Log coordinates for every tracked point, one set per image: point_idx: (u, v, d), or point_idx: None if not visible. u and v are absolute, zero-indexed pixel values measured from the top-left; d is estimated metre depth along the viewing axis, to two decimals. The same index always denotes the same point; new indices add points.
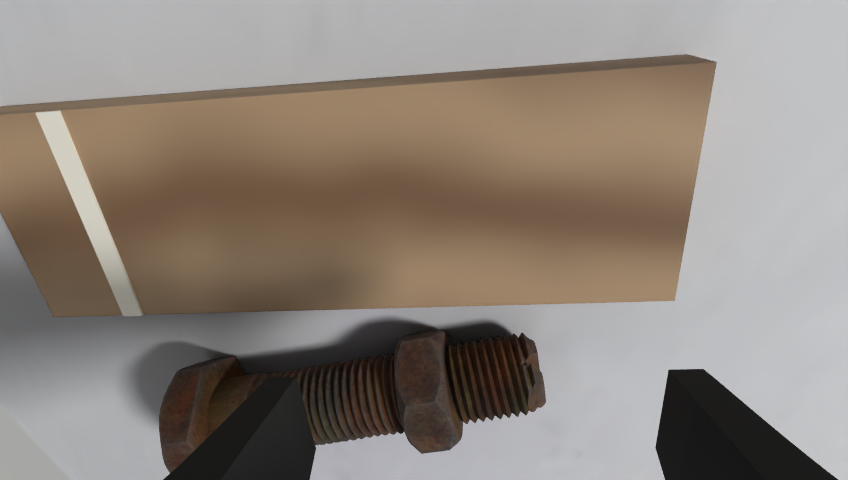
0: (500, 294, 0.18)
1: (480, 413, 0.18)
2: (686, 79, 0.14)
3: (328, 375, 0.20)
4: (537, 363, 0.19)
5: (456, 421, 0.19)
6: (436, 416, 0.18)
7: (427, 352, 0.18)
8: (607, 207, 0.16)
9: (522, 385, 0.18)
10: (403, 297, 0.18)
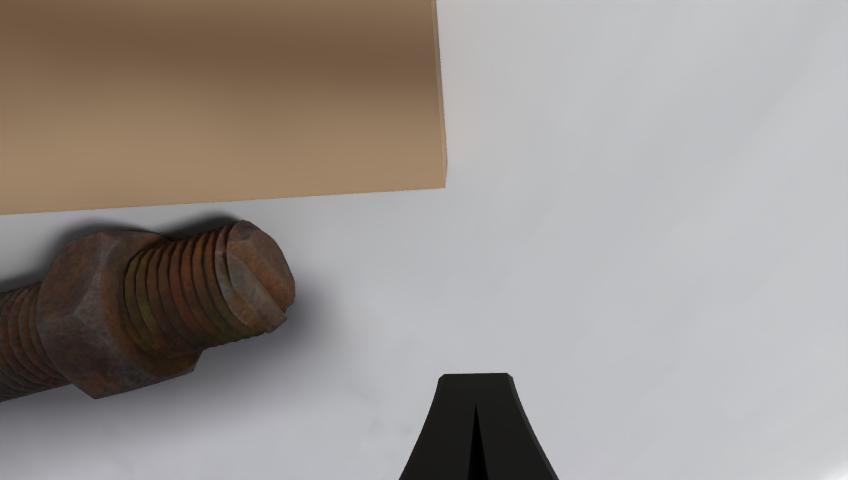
0: (201, 185, 0.12)
1: (172, 335, 0.13)
2: None
3: None
4: (262, 260, 0.13)
5: (145, 350, 0.13)
6: (85, 337, 0.12)
7: (91, 251, 0.13)
8: (311, 32, 0.10)
9: (217, 286, 0.12)
10: (70, 193, 0.12)
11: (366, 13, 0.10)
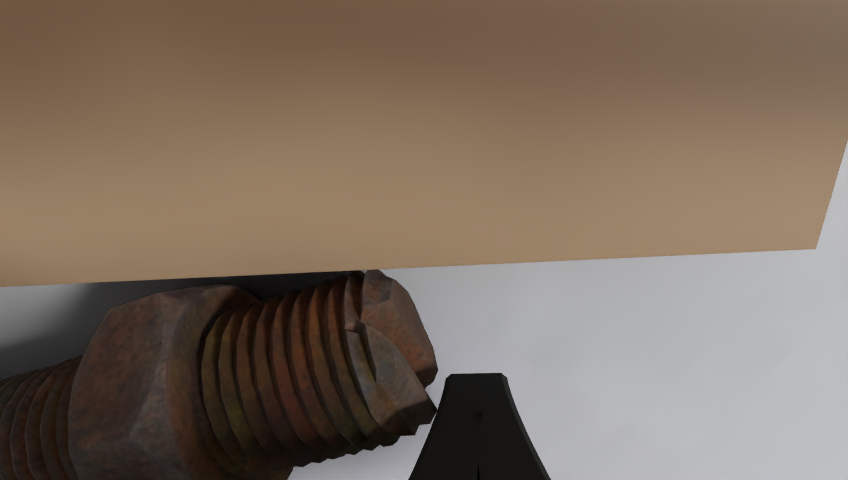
0: (421, 242, 0.08)
1: (276, 452, 0.08)
2: None
3: None
4: (404, 327, 0.09)
5: (233, 473, 0.08)
6: (147, 471, 0.07)
7: (147, 325, 0.08)
8: (669, 0, 0.06)
9: (352, 379, 0.08)
10: (216, 253, 0.08)
11: None
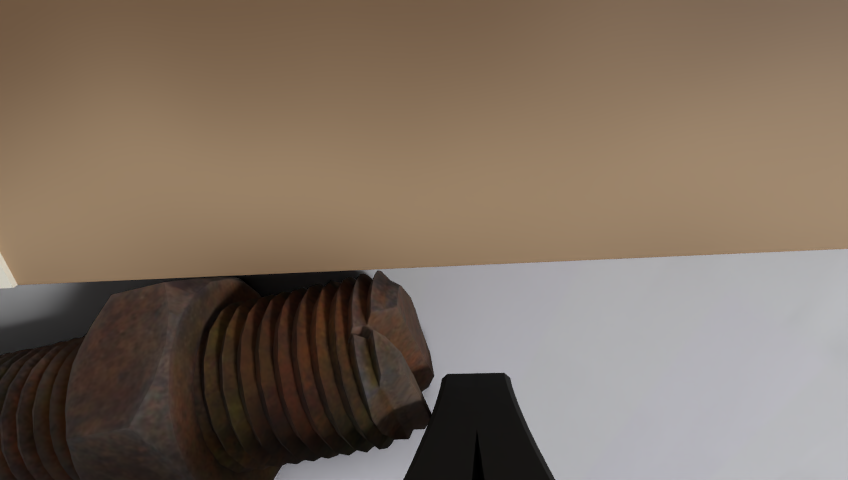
0: None
1: (273, 448, 0.08)
2: None
3: None
4: (407, 333, 0.09)
5: (228, 466, 0.08)
6: (144, 461, 0.07)
7: (151, 314, 0.08)
8: None
9: (355, 382, 0.08)
10: (604, 233, 0.08)
11: None
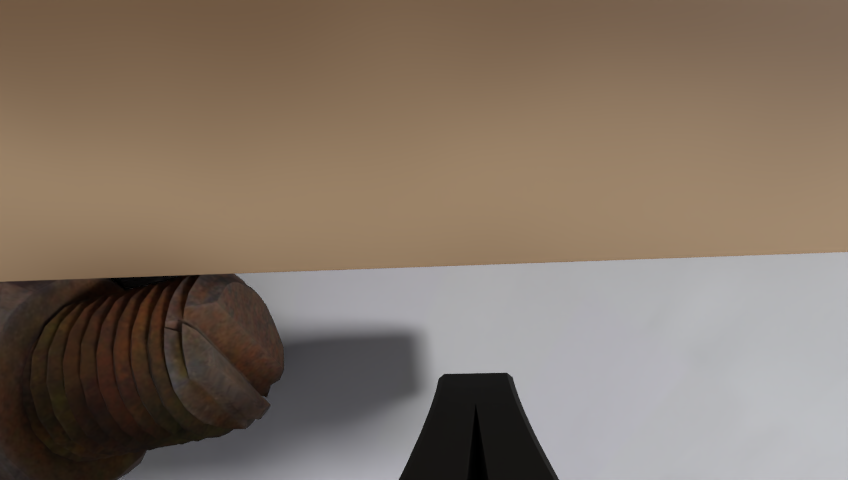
0: (649, 232, 0.08)
1: (100, 437, 0.09)
2: None
3: None
4: (237, 328, 0.09)
5: (63, 455, 0.09)
6: None
7: None
8: None
9: (167, 373, 0.08)
10: (423, 242, 0.08)
11: None
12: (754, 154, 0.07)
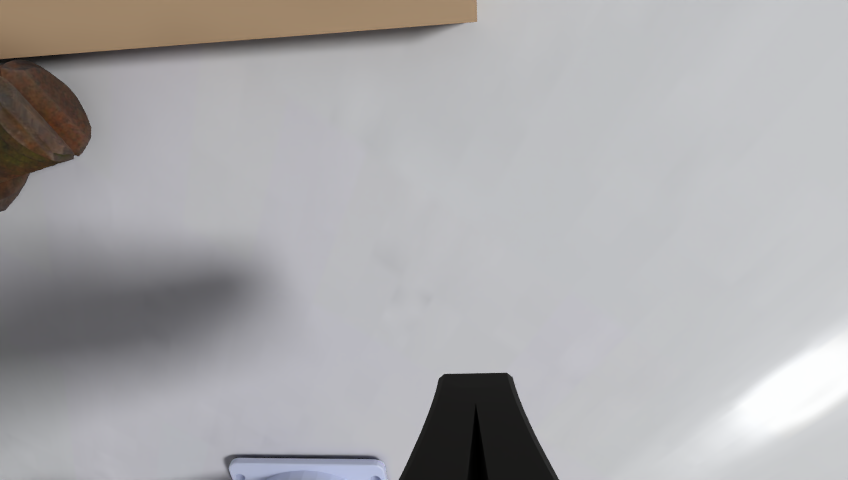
0: (258, 20, 0.14)
1: None
2: None
3: None
4: (43, 94, 0.15)
5: None
6: None
7: None
8: None
9: None
10: (140, 30, 0.14)
11: None
12: None
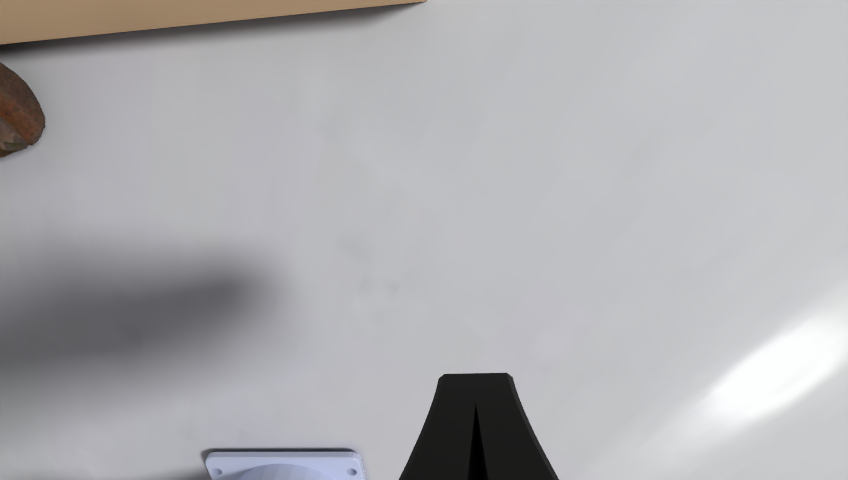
0: (204, 4, 0.14)
1: None
2: None
3: None
4: None
5: None
6: None
7: None
8: None
9: None
10: (87, 17, 0.14)
11: None
12: None
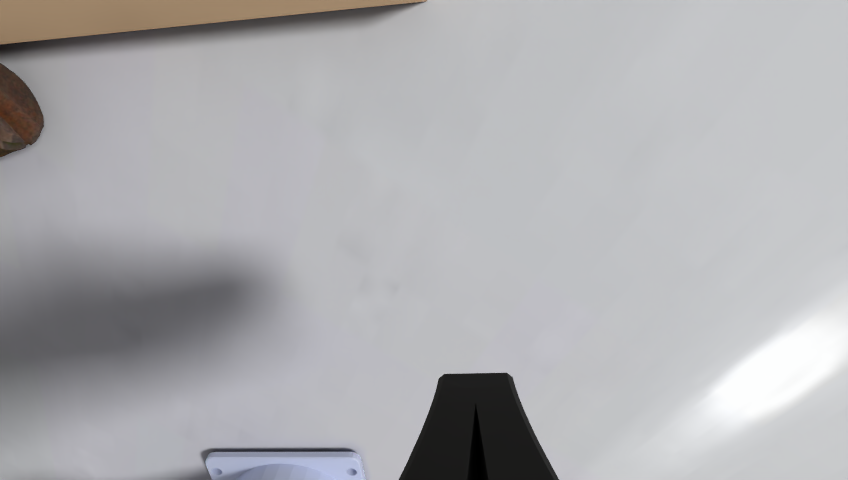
0: (204, 4, 0.14)
1: None
2: None
3: None
4: None
5: None
6: None
7: None
8: None
9: None
10: (87, 17, 0.14)
11: None
12: None
